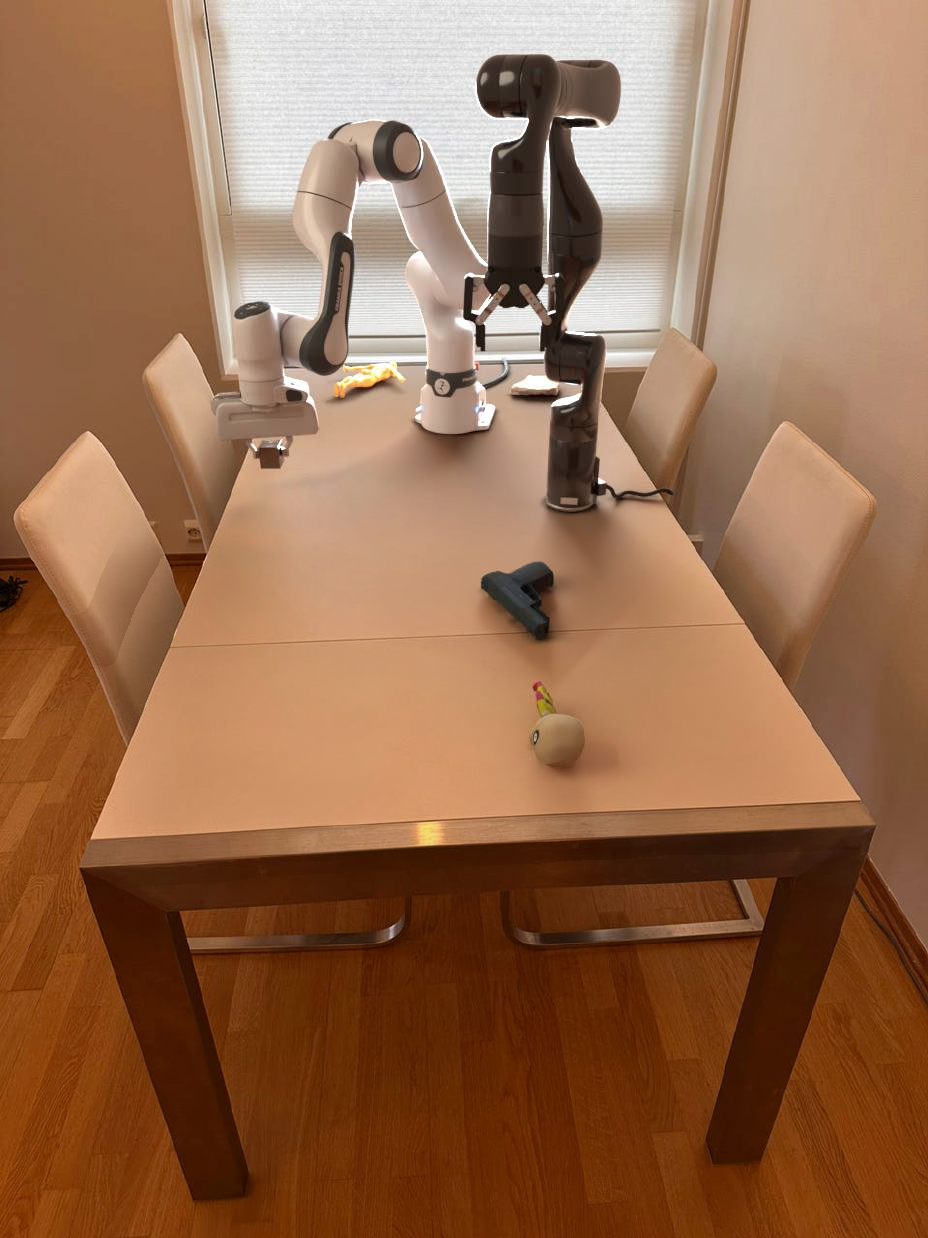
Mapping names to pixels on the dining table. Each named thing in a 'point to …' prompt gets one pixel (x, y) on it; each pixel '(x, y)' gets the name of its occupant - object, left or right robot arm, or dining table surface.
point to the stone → (535, 386)
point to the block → (271, 454)
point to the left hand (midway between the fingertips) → (272, 456)
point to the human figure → (367, 376)
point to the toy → (555, 733)
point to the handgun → (522, 594)
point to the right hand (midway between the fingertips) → (512, 350)
